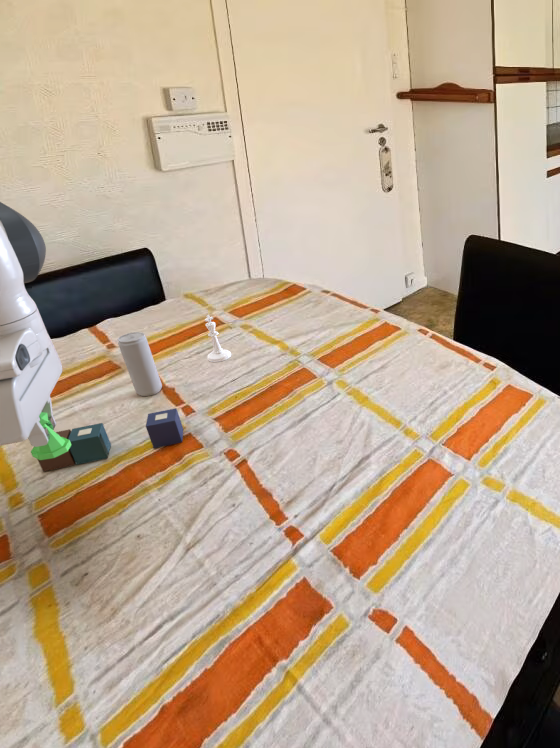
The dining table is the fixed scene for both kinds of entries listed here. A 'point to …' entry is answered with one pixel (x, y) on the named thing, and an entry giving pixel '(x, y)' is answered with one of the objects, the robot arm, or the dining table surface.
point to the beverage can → (140, 363)
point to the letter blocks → (96, 444)
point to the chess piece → (215, 344)
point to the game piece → (50, 443)
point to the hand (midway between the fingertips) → (45, 436)
